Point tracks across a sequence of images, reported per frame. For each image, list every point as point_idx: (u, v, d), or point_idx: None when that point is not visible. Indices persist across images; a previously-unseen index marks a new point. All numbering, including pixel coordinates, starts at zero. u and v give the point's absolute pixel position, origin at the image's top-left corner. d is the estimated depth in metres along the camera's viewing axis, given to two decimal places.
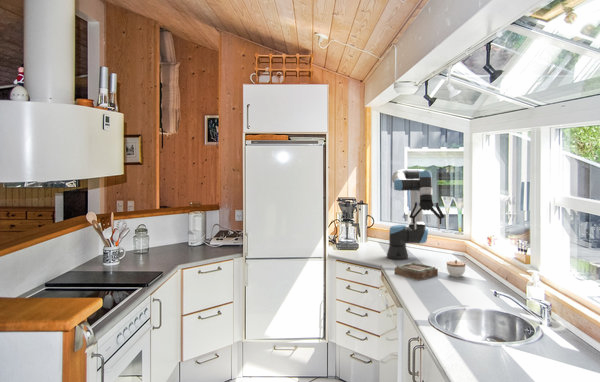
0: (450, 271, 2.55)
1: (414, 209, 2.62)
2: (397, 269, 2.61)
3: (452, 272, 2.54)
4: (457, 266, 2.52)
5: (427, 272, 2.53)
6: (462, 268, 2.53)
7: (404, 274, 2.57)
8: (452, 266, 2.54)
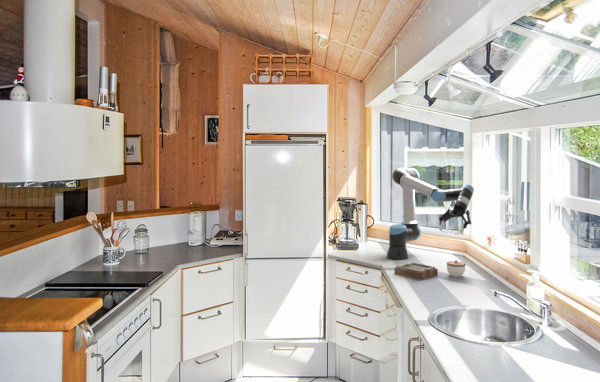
0: (450, 271, 2.55)
1: (445, 214, 2.76)
2: (397, 269, 2.61)
3: (452, 272, 2.54)
4: (457, 266, 2.52)
5: (427, 272, 2.53)
6: (462, 268, 2.53)
7: (404, 274, 2.57)
8: (452, 266, 2.54)
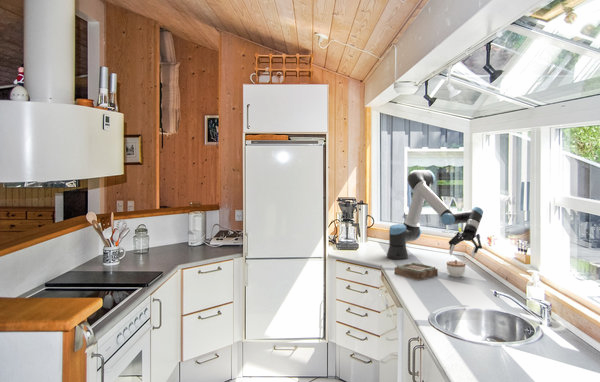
0: (450, 271, 2.55)
1: (454, 237, 2.72)
2: (397, 269, 2.61)
3: (452, 272, 2.54)
4: (457, 266, 2.52)
5: (427, 272, 2.53)
6: (462, 268, 2.53)
7: (404, 274, 2.57)
8: (452, 266, 2.54)
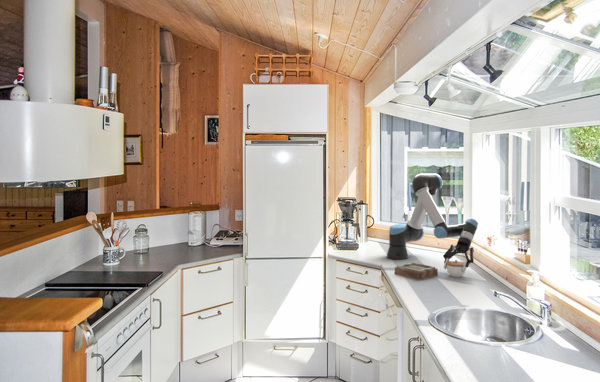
0: (450, 271, 2.55)
1: (449, 250, 2.65)
2: (397, 269, 2.61)
3: (452, 272, 2.54)
4: (457, 266, 2.52)
5: (427, 272, 2.53)
6: None
7: (404, 274, 2.57)
8: (452, 266, 2.54)
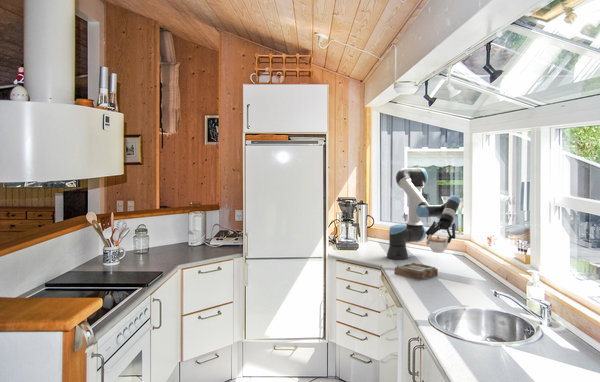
0: (432, 247, 2.56)
1: (431, 227, 2.66)
2: (397, 269, 2.61)
3: (434, 247, 2.55)
4: (439, 242, 2.53)
5: (427, 272, 2.53)
6: None
7: (404, 274, 2.57)
8: (434, 241, 2.54)
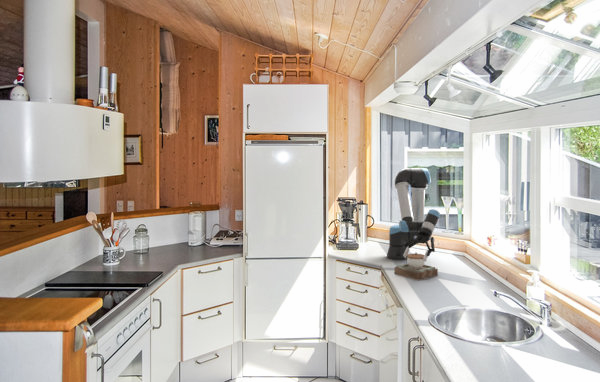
0: (410, 263, 2.58)
1: (410, 240, 2.68)
2: (397, 269, 2.61)
3: (412, 264, 2.57)
4: (416, 258, 2.55)
5: (427, 272, 2.53)
6: (421, 260, 2.56)
7: (404, 274, 2.57)
8: (411, 258, 2.57)
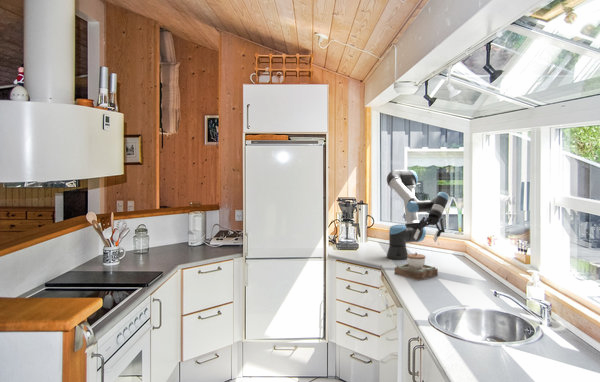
0: (410, 263, 2.58)
1: (420, 222, 2.77)
2: (397, 269, 2.61)
3: (412, 264, 2.57)
4: (416, 258, 2.55)
5: (427, 272, 2.53)
6: (421, 260, 2.56)
7: (404, 274, 2.57)
8: (411, 258, 2.57)
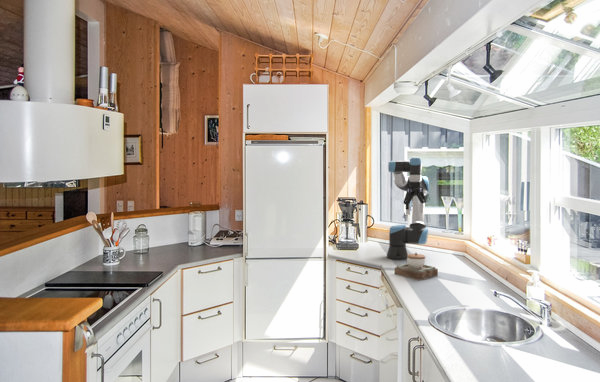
0: (410, 263, 2.58)
1: (420, 195, 2.86)
2: (397, 269, 2.61)
3: (412, 264, 2.57)
4: (416, 258, 2.55)
5: (427, 272, 2.53)
6: (421, 260, 2.56)
7: (404, 274, 2.57)
8: (411, 258, 2.57)
